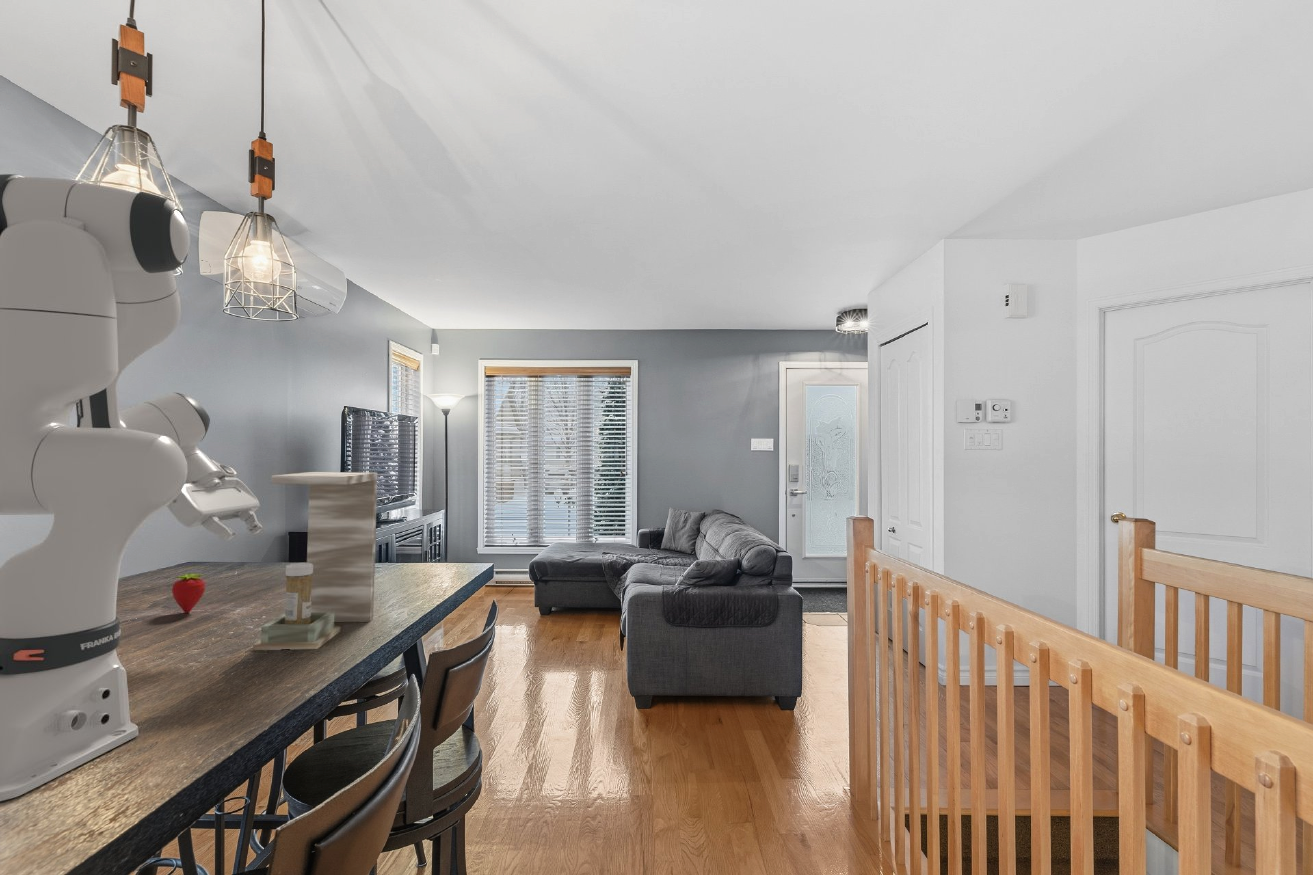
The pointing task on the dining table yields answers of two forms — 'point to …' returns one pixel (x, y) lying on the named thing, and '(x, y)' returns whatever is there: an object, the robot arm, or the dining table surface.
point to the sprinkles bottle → (298, 593)
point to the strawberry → (188, 591)
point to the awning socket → (332, 558)
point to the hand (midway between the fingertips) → (244, 534)
